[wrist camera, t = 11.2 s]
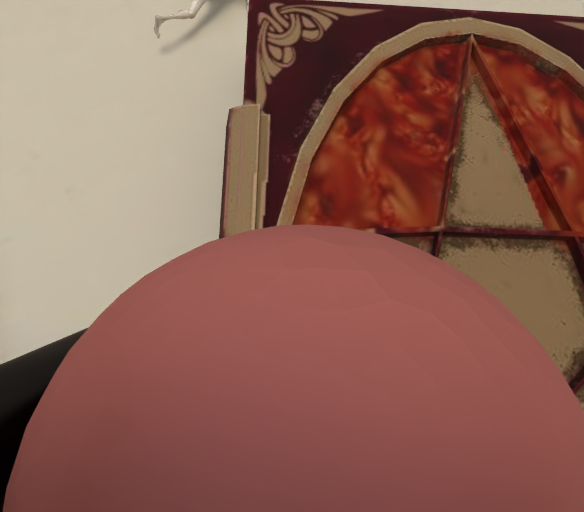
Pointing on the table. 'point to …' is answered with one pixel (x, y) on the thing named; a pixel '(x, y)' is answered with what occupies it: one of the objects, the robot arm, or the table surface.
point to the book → (424, 144)
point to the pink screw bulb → (304, 390)
